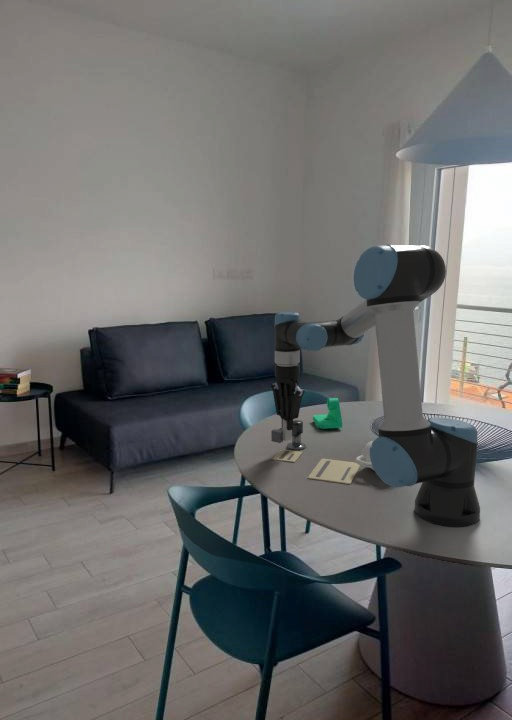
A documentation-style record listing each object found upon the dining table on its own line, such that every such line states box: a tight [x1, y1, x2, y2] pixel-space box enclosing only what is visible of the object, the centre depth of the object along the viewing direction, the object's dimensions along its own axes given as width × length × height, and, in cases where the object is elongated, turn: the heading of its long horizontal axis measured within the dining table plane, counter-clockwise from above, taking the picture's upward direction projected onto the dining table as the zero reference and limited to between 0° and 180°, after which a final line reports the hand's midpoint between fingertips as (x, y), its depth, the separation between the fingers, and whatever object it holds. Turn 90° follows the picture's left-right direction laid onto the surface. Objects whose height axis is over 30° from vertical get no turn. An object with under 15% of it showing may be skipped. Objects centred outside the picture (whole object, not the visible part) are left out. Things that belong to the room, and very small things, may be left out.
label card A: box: [272, 449, 304, 464], centre depth 181 cm, size 9×7×1 cm
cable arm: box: [270, 419, 304, 444], centre depth 184 cm, size 14×4×4 cm, turn 143°
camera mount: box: [312, 397, 343, 429], centre depth 211 cm, size 12×8×10 cm, turn 10°
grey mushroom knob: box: [286, 434, 307, 451], centre depth 189 cm, size 6×6×5 cm
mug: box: [354, 440, 375, 472], centre depth 167 cm, size 12×10×8 cm
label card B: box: [307, 457, 361, 485], centre depth 169 cm, size 16×12×1 cm
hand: (287, 439), depth 180 cm, fingers closed
